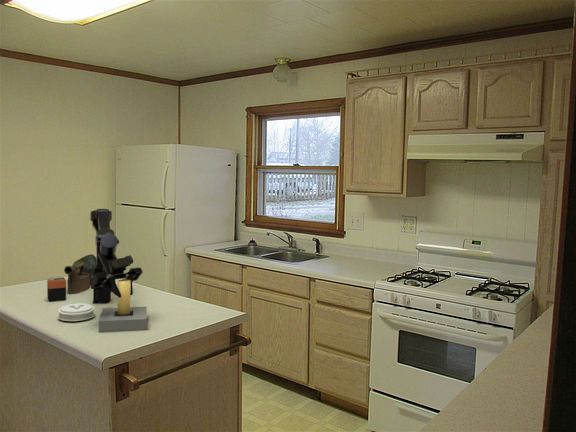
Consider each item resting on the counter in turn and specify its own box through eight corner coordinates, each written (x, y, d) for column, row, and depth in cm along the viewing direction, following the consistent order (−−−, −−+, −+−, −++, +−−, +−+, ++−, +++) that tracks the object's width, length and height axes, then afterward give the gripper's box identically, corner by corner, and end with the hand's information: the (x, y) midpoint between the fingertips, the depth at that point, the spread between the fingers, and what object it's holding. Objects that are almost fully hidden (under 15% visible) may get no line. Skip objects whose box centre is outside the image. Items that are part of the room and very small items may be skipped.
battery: (66, 300, 208) (66, 277, 207) (48, 302, 204) (48, 278, 203) (64, 298, 212) (64, 275, 211) (47, 299, 208) (47, 276, 207)
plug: (117, 314, 177) (117, 282, 176) (118, 311, 182) (118, 279, 180) (130, 314, 179) (130, 282, 177) (130, 310, 183) (130, 279, 182)
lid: (58, 315, 189) (58, 302, 188) (93, 312, 194) (93, 300, 193) (57, 325, 177) (57, 311, 177) (95, 321, 182) (95, 308, 182)
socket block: (98, 332, 171) (98, 321, 170) (102, 318, 186) (102, 308, 185) (146, 329, 175) (146, 319, 175) (146, 316, 190) (146, 306, 190)
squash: (59, 272, 237) (75, 251, 232) (83, 268, 250) (98, 248, 246) (74, 294, 233) (91, 273, 228) (98, 289, 247) (114, 269, 242)
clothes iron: (58, 295, 215) (58, 265, 214) (74, 287, 231) (74, 259, 230) (76, 296, 215) (76, 266, 214) (90, 287, 231) (90, 259, 230)
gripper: (94, 251, 173) (111, 287, 167) (140, 246, 188) (157, 279, 182) (83, 269, 179) (99, 305, 173) (128, 263, 193) (144, 296, 187)
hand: (126, 295), depth 179 cm, fingers closed on plug, 4 cm apart
